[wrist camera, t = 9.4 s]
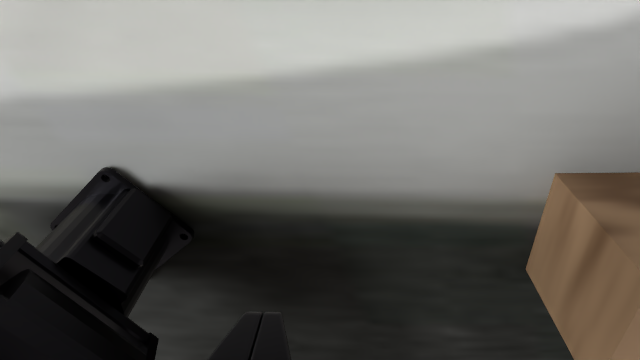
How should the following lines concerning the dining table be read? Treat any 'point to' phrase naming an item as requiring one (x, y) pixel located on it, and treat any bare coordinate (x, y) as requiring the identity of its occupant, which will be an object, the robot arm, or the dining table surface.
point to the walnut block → (591, 263)
